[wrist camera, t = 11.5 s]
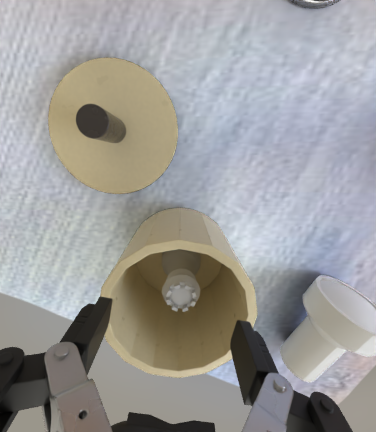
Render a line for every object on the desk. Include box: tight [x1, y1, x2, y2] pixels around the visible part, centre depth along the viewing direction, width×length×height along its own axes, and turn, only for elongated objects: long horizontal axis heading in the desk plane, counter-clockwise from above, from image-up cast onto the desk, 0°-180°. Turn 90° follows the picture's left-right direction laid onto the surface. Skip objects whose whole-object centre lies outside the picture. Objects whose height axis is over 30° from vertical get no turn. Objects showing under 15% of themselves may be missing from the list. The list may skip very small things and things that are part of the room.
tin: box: [100, 208, 257, 378], centre depth 21 cm, size 11×11×10 cm
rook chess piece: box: [162, 249, 201, 312], centre depth 22 cm, size 4×4×8 cm
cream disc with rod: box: [48, 58, 178, 194], centre depth 20 cm, size 12×12×7 cm
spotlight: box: [280, 275, 376, 383], centre depth 26 cm, size 8×11×8 cm
